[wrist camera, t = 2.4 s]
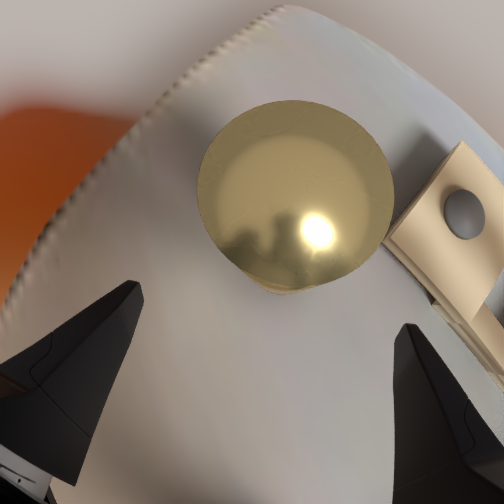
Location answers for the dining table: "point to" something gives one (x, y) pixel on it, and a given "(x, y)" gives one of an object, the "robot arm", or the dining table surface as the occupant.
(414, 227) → the wooden slotted base
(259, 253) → the brass pin
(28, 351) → the robot arm
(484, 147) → the dining table surface
